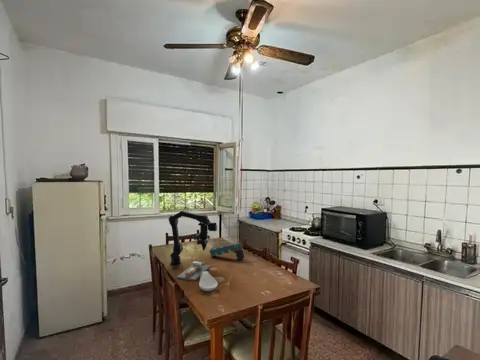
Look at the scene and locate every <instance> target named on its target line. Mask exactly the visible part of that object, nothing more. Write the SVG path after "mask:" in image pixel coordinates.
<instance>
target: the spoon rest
mask: <svg viewBox="0 0 480 360" xmlns="http://www.w3.org/2000/svg"><path fill="white" fill-rule="evenodd" d="M218 285H219V283H218V281H217V280H216V279H215V278H214V277H213V276H212V275H211V274H210V272H209V271H208V270H207V271H206V272H202V273H201V276H200V277H199V283H198V286H199V288H200V289H201V290H202V291H204V292H211V291H214V290H215V289H216V288H217V287H218Z"/></svg>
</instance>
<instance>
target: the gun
mask: <svg viewBox="0 0 480 360" xmlns="http://www.w3.org/2000/svg"><path fill="white" fill-rule="evenodd" d="M242 244H243V243H242V242H241V241H239V242H234V243H231V244H222V245H219V246H214V247H211V248H210V249H209V254H210V257H212V258H213V257H215V256H220V255H224V254H228V253H231V252H233V254H235V257H236V261H241V260H244V258H245V253H244V250H243V249H244V248H243V245H242Z"/></svg>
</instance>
